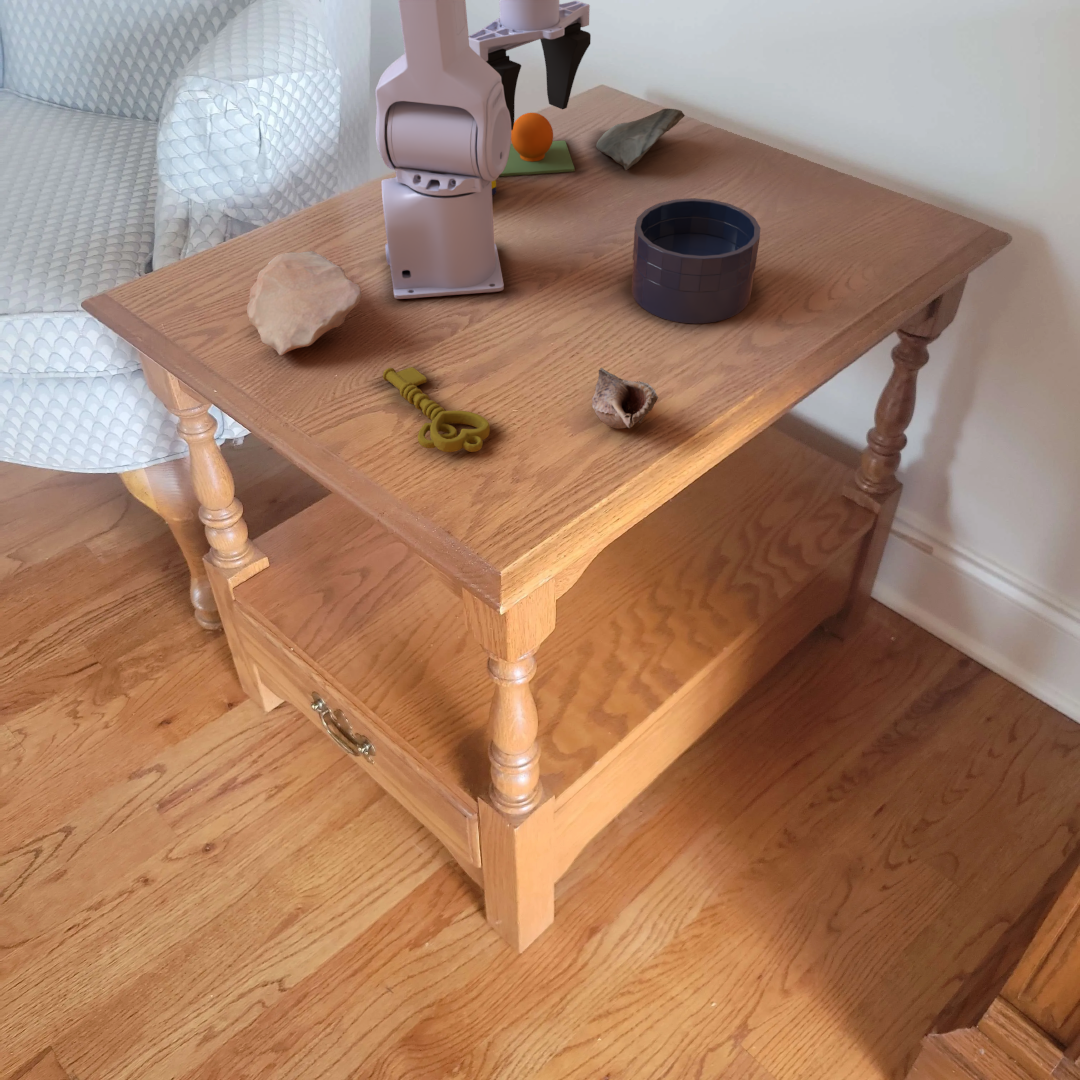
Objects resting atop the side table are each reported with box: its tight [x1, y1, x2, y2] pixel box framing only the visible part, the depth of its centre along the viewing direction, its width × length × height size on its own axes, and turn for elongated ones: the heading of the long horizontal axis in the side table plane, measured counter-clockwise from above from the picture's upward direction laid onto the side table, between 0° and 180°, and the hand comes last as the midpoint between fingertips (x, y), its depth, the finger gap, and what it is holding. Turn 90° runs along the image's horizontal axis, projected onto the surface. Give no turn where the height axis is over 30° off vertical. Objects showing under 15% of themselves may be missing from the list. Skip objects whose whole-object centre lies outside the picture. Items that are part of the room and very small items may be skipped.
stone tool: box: [246, 250, 363, 356], centre depth 84 cm, size 9×5×15 cm
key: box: [382, 366, 491, 453], centre depth 75 cm, size 12×1×5 cm
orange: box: [511, 112, 554, 162], centre depth 104 cm, size 4×4×4 cm
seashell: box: [591, 367, 659, 429], centre depth 73 cm, size 4×8×4 cm
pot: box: [631, 197, 762, 325], centre depth 85 cm, size 10×10×6 cm
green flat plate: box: [498, 139, 576, 178], centre depth 106 cm, size 8×7×1 cm
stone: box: [595, 108, 686, 171], centre depth 105 cm, size 11×4×10 cm
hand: (531, 116), depth 103 cm, fingers open, 7 cm apart
